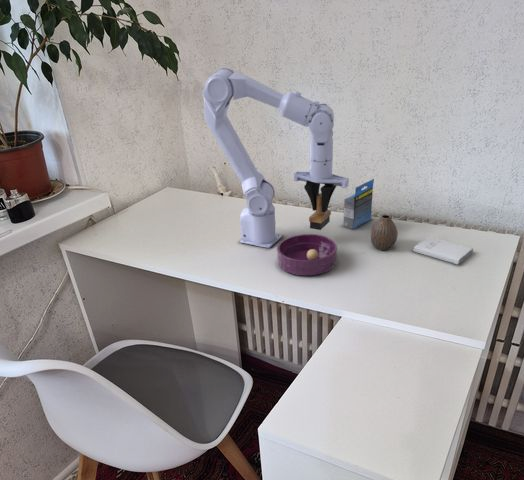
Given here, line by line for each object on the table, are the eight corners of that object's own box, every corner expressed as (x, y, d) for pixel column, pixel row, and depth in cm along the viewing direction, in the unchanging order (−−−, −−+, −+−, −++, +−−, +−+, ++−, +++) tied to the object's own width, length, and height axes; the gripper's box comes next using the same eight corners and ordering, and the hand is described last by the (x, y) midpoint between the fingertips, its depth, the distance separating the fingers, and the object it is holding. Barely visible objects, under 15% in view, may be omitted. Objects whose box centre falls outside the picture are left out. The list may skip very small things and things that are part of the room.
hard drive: (457, 265, 127) (412, 252, 134) (472, 253, 131) (428, 240, 138) (458, 259, 126) (413, 246, 133) (473, 247, 130) (429, 235, 137)
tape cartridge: (360, 216, 153) (363, 175, 146) (371, 219, 151) (374, 178, 144) (342, 226, 149) (344, 184, 141) (353, 229, 146) (355, 187, 139)
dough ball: (304, 261, 132) (304, 251, 130) (309, 256, 134) (309, 246, 132) (315, 263, 130) (315, 253, 129) (320, 258, 132) (320, 248, 131)
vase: (396, 253, 134) (399, 222, 128) (369, 252, 135) (371, 221, 130) (396, 242, 139) (399, 211, 133) (370, 241, 140) (372, 210, 135)
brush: (308, 228, 137) (309, 198, 132) (318, 219, 142) (319, 189, 137) (321, 230, 136) (321, 200, 131) (330, 221, 140) (331, 191, 135)
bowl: (267, 270, 131) (266, 254, 128) (293, 245, 141) (293, 230, 138) (321, 282, 124) (321, 266, 121) (345, 255, 134) (346, 240, 132)
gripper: (354, 156, 128) (351, 208, 136) (302, 150, 134) (302, 200, 142) (343, 165, 123) (341, 218, 131) (289, 159, 129) (290, 210, 137)
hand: (320, 210), depth 136 cm, fingers closed on brush, 2 cm apart
